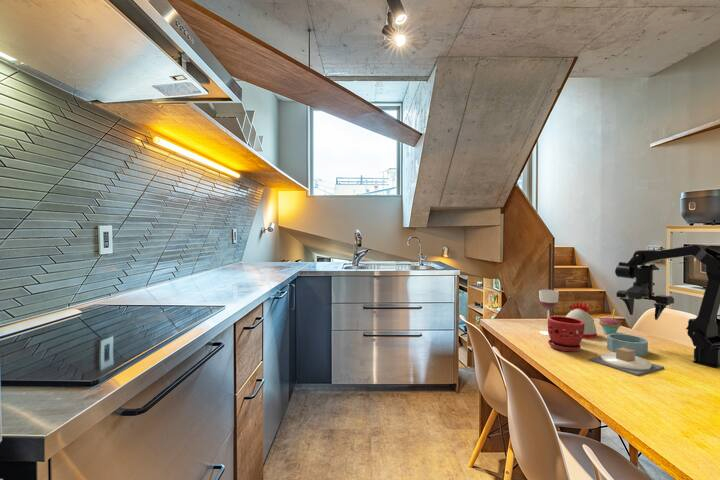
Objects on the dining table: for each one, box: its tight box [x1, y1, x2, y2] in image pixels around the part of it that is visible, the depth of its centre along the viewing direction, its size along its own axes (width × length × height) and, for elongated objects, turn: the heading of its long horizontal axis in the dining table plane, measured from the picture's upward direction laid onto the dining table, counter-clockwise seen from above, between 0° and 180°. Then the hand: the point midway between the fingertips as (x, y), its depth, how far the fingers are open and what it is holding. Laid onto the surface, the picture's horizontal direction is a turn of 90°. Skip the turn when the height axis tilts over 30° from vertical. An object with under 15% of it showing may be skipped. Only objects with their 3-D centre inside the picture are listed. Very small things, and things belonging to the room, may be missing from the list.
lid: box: [600, 347, 652, 370], centre depth 129 cm, size 15×15×5 cm
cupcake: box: [598, 307, 622, 334], centre depth 170 cm, size 9×8×12 cm
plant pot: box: [547, 315, 585, 352], centre depth 147 cm, size 13×13×12 cm
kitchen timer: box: [563, 301, 598, 339], centre depth 168 cm, size 14×14×15 cm
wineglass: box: [538, 289, 560, 336], centre depth 168 cm, size 8×9×20 cm
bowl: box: [606, 333, 649, 357], centre depth 144 cm, size 13×13×5 cm
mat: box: [588, 355, 665, 377], centre depth 129 cm, size 16×16×1 cm
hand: (643, 317), depth 150 cm, fingers open, 9 cm apart
